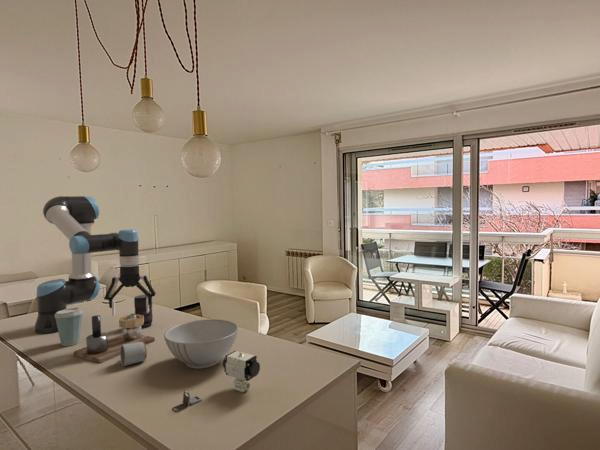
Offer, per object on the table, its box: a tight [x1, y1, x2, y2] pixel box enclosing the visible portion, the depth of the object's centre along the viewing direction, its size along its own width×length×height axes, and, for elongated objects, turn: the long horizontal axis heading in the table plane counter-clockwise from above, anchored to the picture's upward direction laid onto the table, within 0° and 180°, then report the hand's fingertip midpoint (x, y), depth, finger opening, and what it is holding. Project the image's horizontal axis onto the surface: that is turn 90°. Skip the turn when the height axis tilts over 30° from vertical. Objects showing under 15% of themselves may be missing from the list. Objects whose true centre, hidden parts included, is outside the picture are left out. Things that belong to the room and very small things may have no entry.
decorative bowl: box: [163, 318, 239, 370], centre depth 138 cm, size 27×27×12 cm
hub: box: [122, 317, 143, 341], centre depth 161 cm, size 7×7×8 cm
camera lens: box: [133, 294, 154, 329], centre depth 181 cm, size 8×8×15 cm
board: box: [73, 333, 156, 364], centre depth 154 cm, size 17×25×2 cm
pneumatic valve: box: [222, 350, 261, 393], centre depth 116 cm, size 6×12×12 cm, turn 58°
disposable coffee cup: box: [55, 306, 84, 347], centre depth 160 cm, size 11×11×15 cm
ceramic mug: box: [119, 342, 148, 367], centre depth 140 cm, size 11×8×8 cm
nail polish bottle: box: [85, 314, 109, 355], centre depth 146 cm, size 7×7×14 cm
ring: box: [118, 312, 144, 329], centre depth 160 cm, size 9×9×4 cm
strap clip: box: [171, 390, 203, 413], centre depth 108 cm, size 8×3×4 cm, turn 137°
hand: (131, 313), depth 161 cm, fingers open, 13 cm apart
